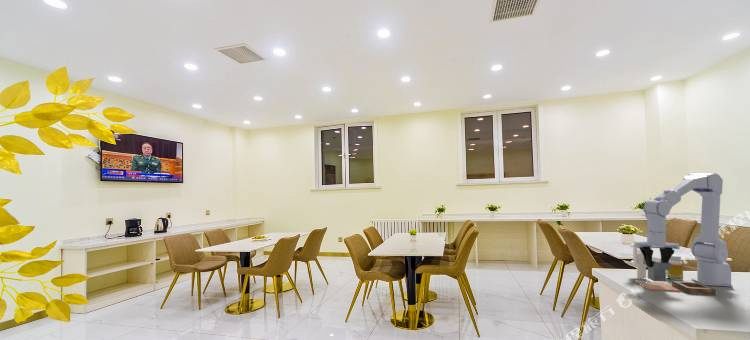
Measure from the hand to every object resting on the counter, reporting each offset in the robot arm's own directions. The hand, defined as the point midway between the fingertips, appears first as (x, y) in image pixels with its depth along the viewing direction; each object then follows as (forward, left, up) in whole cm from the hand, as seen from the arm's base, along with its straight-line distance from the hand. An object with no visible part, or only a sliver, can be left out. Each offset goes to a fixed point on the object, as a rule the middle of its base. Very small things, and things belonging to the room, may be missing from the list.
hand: (656, 266), depth 137 cm
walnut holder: (-11, +2, -8) cm, 14 cm away
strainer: (-1, -12, -8) cm, 14 cm away
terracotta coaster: (0, 0, -8) cm, 8 cm away
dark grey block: (0, 0, -5) cm, 5 cm away
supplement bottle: (-14, -14, -8) cm, 21 cm away
